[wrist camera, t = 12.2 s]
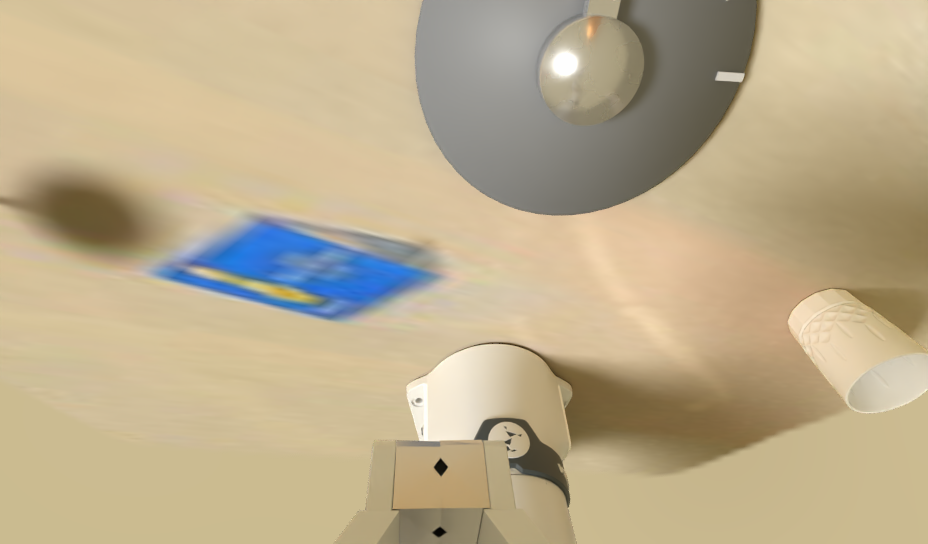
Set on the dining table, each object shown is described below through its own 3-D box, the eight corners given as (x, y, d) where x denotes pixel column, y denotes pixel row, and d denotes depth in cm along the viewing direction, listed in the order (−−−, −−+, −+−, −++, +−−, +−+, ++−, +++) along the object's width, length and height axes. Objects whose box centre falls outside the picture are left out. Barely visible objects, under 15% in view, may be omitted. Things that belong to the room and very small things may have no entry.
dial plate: (682, 214, 44) (688, 221, 42) (413, 203, 42) (412, 210, 40) (809, -132, 30) (824, -135, 29) (418, -174, 28) (417, -178, 27)
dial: (619, 119, 37) (650, 150, 32) (528, 114, 36) (544, 144, 31) (678, -112, 29) (732, -122, 24) (563, -124, 28) (592, -136, 23)
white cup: (843, 336, 54) (917, 409, 46) (772, 343, 54) (833, 417, 46) (871, 279, 49) (959, 348, 41) (793, 287, 49) (865, 358, 41)
